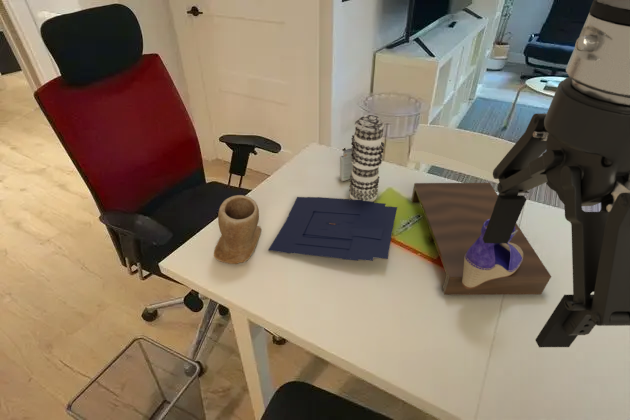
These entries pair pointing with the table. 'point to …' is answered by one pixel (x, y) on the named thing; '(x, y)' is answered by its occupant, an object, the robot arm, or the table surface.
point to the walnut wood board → (473, 237)
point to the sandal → (490, 260)
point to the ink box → (346, 165)
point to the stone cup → (237, 229)
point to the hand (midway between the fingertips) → (519, 285)
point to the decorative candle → (366, 158)
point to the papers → (337, 229)
